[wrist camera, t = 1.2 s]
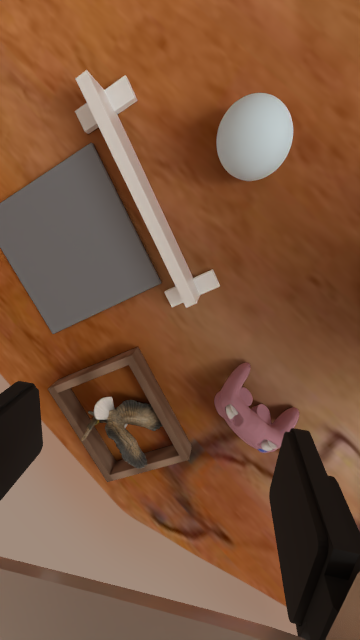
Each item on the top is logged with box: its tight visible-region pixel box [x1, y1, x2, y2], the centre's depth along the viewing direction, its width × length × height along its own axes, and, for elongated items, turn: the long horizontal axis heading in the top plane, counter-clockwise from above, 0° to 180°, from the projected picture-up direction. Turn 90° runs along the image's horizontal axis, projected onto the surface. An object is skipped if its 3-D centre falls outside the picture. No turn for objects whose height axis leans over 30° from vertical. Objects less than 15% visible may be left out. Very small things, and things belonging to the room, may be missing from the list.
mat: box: [0, 143, 162, 334], centre depth 33 cm, size 16×16×1 cm
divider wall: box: [75, 70, 220, 308], centre depth 29 cm, size 6×22×4 cm, turn 26°
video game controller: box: [214, 363, 299, 453], centre depth 34 cm, size 10×5×7 cm, turn 47°
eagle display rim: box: [48, 347, 192, 482], centre depth 38 cm, size 13×16×2 cm
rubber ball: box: [216, 93, 293, 181], centre depth 25 cm, size 6×6×6 cm
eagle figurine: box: [81, 397, 163, 469], centre depth 37 cm, size 8×7×9 cm
